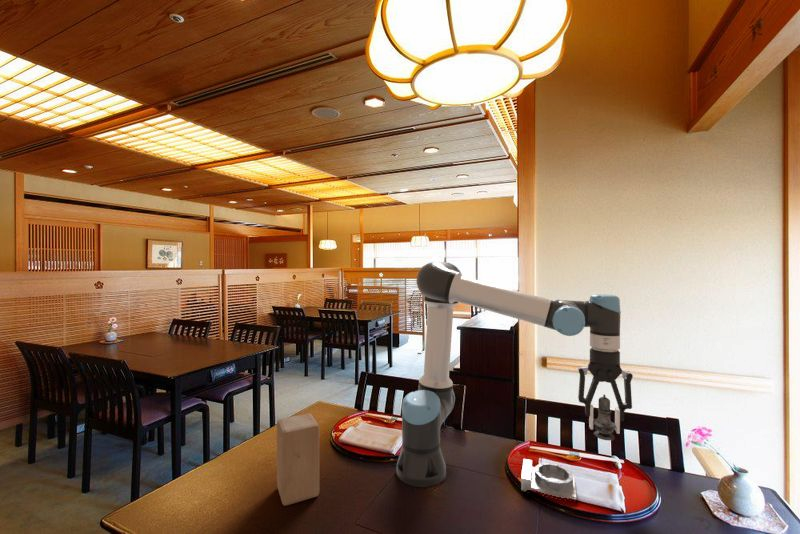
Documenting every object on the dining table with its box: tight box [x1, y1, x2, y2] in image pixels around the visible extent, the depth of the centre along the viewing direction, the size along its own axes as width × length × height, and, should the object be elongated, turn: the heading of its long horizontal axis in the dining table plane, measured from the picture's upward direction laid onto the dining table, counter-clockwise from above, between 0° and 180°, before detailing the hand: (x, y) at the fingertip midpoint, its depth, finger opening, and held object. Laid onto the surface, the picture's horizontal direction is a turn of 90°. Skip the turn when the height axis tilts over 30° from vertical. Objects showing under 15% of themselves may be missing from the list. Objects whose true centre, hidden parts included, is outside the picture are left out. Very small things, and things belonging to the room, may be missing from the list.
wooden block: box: [276, 413, 320, 506], centre depth 101 cm, size 10×10×20 cm
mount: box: [520, 458, 577, 499], centre depth 104 cm, size 14×11×4 cm
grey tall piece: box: [593, 394, 616, 442], centre depth 103 cm, size 6×6×12 cm
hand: (604, 429), depth 103 cm, fingers closed on grey tall piece, 6 cm apart
